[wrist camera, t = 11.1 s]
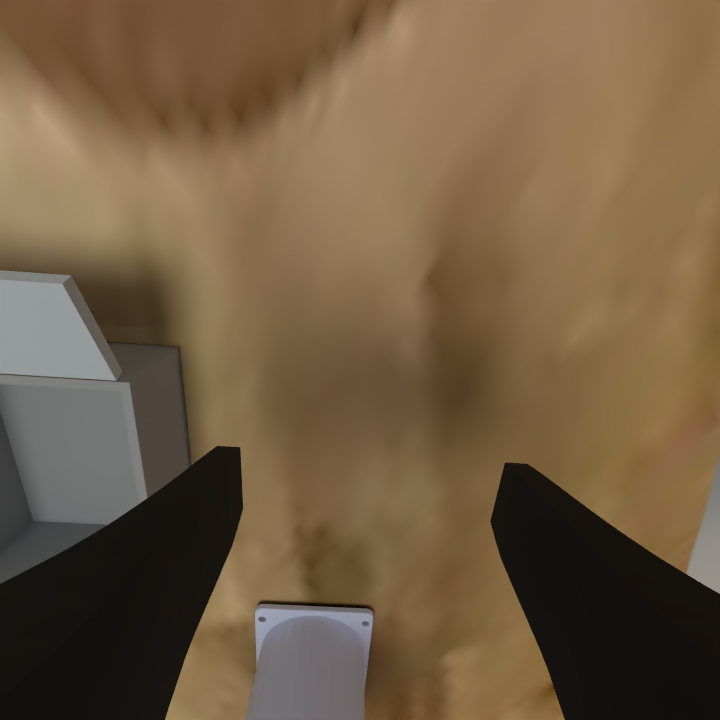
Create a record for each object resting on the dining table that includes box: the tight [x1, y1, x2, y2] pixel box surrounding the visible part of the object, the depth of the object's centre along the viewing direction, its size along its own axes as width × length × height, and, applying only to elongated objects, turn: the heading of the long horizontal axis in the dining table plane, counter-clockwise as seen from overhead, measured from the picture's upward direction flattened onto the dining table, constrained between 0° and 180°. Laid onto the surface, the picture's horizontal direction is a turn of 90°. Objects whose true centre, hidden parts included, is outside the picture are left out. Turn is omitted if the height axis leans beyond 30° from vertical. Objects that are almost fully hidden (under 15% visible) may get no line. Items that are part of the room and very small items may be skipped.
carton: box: [0, 342, 191, 584], centre depth 19 cm, size 12×10×4 cm
